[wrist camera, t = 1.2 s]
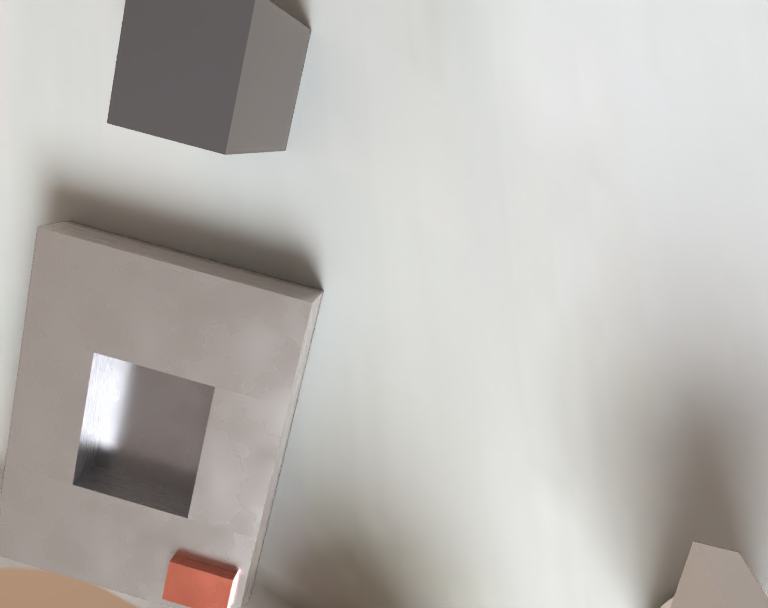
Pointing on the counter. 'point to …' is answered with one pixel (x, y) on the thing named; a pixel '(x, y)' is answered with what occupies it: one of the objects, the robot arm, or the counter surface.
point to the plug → (209, 73)
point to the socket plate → (150, 416)
